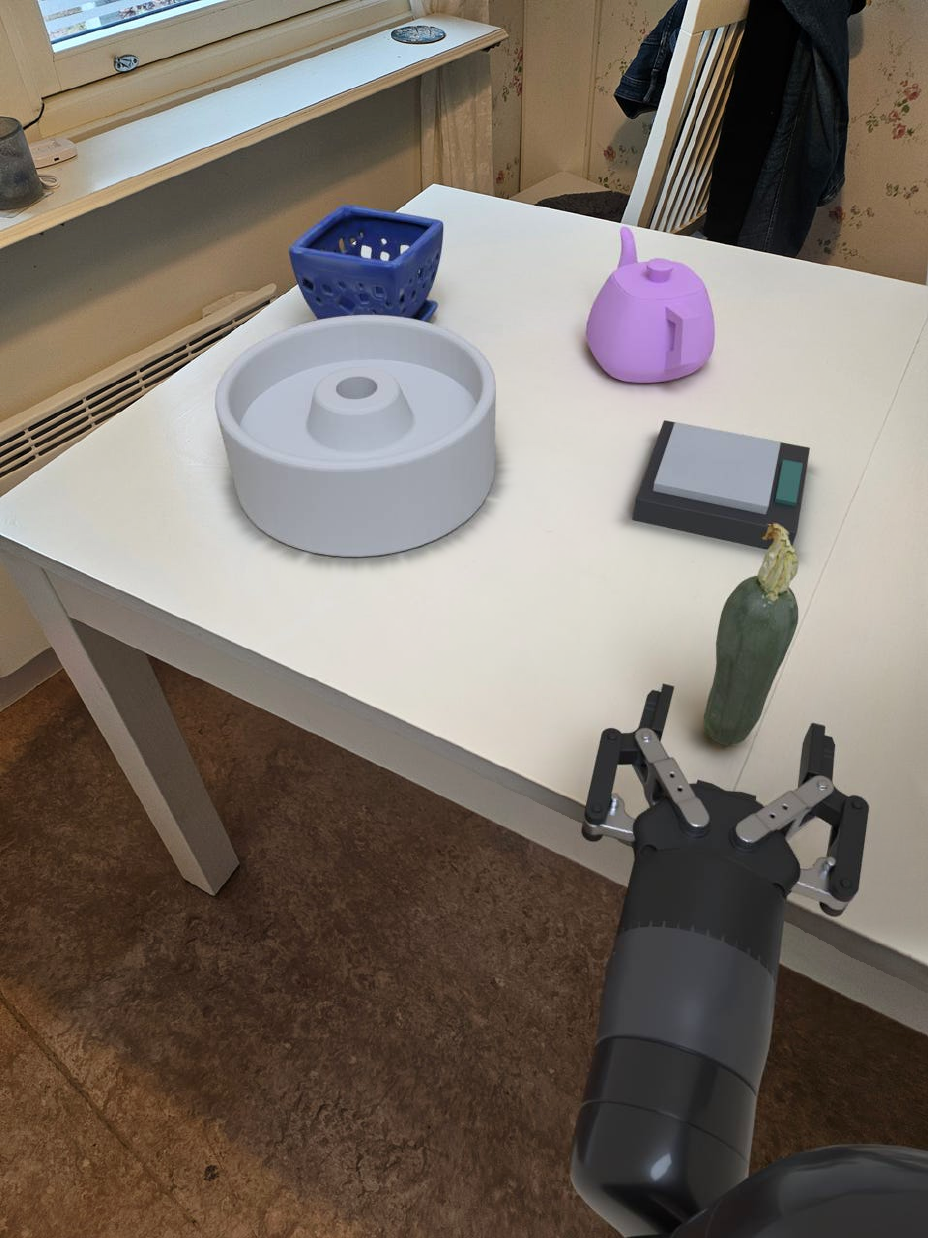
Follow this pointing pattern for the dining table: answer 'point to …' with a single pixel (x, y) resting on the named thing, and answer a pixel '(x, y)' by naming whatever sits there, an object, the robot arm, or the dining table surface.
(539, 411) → the dining table surface
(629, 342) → the teapot
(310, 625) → the dining table surface
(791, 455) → the scale
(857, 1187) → the robot arm
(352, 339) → the container
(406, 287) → the flower pot
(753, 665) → the vegetable
